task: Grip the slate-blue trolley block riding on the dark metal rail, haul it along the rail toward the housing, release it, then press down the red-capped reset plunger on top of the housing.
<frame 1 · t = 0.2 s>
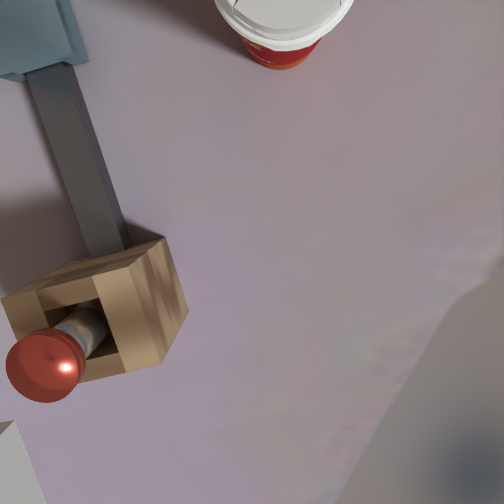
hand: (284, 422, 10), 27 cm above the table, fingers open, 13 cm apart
rail: (68, 110, 36), on the table
paper cup: (280, 33, 34), on the table
housing: (129, 287, 39), on the table
plunger: (67, 345, 27), point 12 cm above the table, slide at 0.0 cm
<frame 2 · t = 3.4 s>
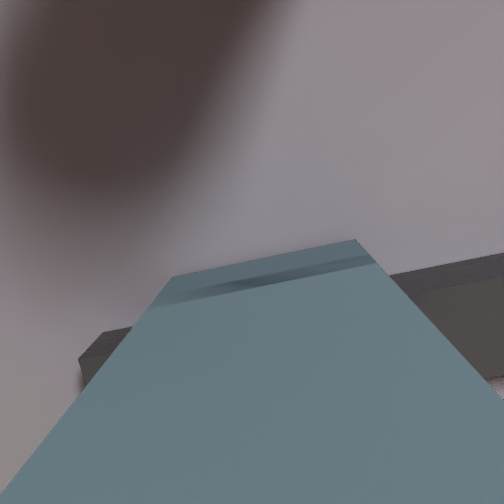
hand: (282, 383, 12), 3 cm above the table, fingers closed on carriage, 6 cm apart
rail: (460, 305, 14), on the table
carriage: (286, 470, 9), point 6 cm above the table, slide at 0.0 cm, touching gripper
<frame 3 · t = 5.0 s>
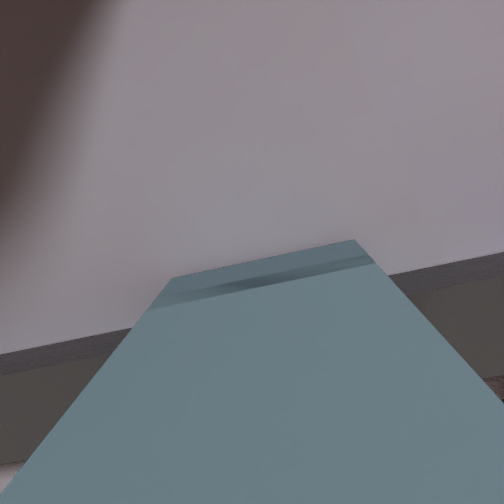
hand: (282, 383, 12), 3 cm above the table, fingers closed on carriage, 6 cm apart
rail: (284, 339, 15), on the table
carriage: (286, 470, 9), point 6 cm above the table, slide at 5.9 cm, touching gripper
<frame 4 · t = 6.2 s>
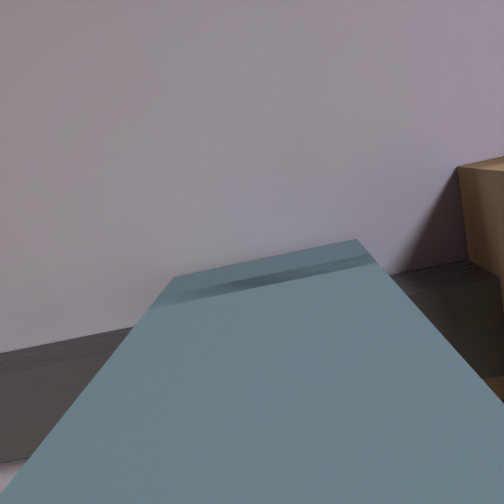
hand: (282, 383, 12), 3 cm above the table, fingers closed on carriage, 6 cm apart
rail: (127, 368, 16), on the table
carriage: (286, 470, 9), point 6 cm above the table, slide at 11.6 cm, touching gripper
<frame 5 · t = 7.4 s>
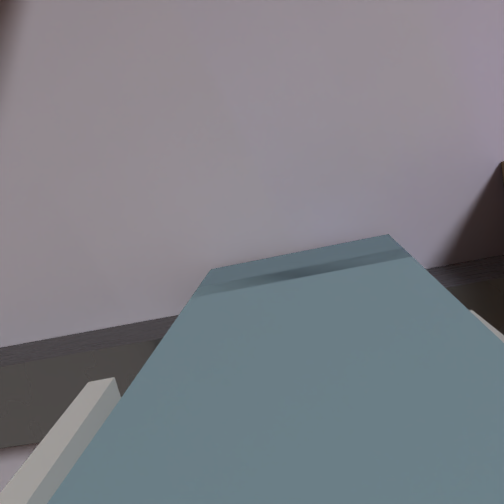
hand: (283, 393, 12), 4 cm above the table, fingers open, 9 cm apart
rail: (173, 355, 16), on the table
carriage: (325, 449, 9), point 6 cm above the table, slide at 11.3 cm
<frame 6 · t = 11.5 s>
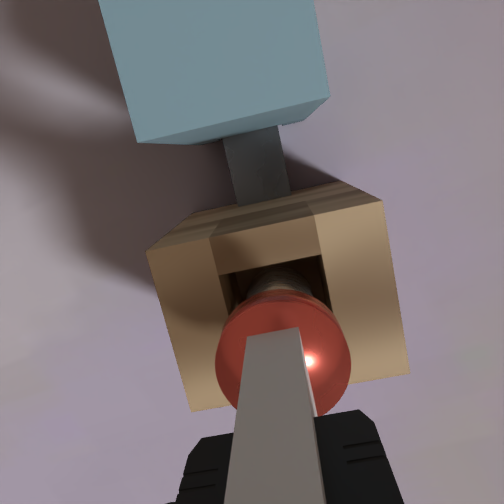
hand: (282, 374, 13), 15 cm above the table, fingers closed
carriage: (228, 56, 18), point 6 cm above the table, slide at 11.3 cm
housing: (277, 253, 27), on the table
plunger: (280, 325, 16), point 11 cm above the table, slide at 1.0 cm, touching gripper
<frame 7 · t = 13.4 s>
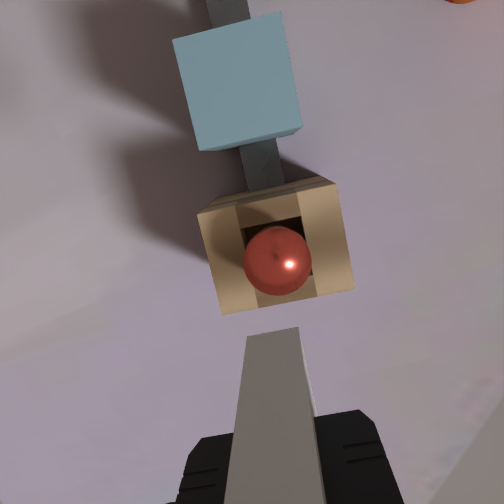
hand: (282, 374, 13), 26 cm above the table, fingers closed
rail: (235, 38, 35), on the table
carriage: (245, 96, 30), point 6 cm above the table, slide at 11.3 cm
housing: (275, 226, 38), on the table
plunger: (276, 251, 29), point 10 cm above the table, slide at 2.3 cm
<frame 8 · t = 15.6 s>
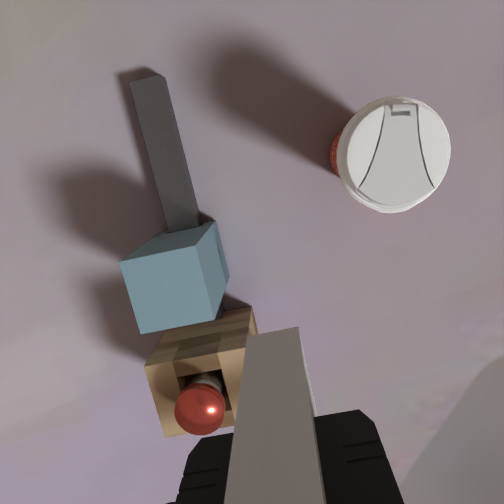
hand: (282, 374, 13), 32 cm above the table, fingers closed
rail: (182, 204, 44), on the table
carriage: (182, 270, 39), point 6 cm above the table, slide at 11.3 cm
paper cup: (357, 154, 43), on the table
housing: (218, 344, 48), on the table
plunger: (204, 392, 38), point 10 cm above the table, slide at 2.3 cm
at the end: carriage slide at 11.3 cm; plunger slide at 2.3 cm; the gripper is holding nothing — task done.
